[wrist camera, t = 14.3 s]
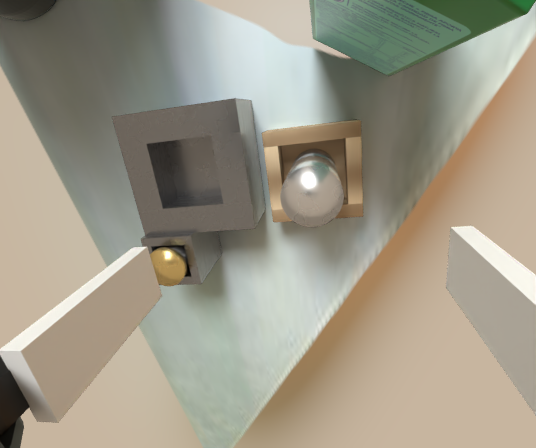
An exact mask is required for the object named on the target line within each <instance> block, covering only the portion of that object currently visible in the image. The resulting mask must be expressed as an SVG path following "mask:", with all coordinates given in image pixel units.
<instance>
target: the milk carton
mask: <svg viewBox="0 0 536 448" xmlns="http://www.w3.org/2000/svg"><path fill="white" fill-rule="evenodd" d="M309 1H310V10H311V11H310V12H311V22H312V33H313V39H315V40H317V41H319V42H321V43H323V44H325V45H327V46H329V47H331V48H333V49H335V50H337V51H339V52H341V53H343V54H345V55H347V56H349V57H351V58H353V59H355V60H357V61H359V62H361V63H363V64H365V65H367V66H369V67H371V68H373V69H376V70H378V71H380V72H382V73H384V74H386V75H388V76H391V75H393V74H395V73H397V72H400V71H402V70H404V69H406V68H408V67H411V66H413V65H415V64H417V63H419V62H422V61H424V60H426V59H428V58H430V57H433V56H435V55H437V54H439V53H441V52H444V51H446V50H448V49H450V48H452V47H455V46H457V45H459V44H461V43H463V42H466V41H468V40H470V39H472V38H474V37H477V36H479V35H481V34H483V33H485V32H488V31H490V30H492V29H494V28H496V27H499V26H501V25H503V24H505V23H507V22H510V21H512V20H514V19H516V18H518V17H521V16H523V15H525V14H527V13H528V12H529V10H530V9H531V7H532V6H533V4H534V3H535V1H536V0H309Z"/></svg>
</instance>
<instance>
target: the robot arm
mask: <svg viewBox="0 0 536 448" xmlns="http://www.w3.org/2000/svg"><path fill="white" fill-rule="evenodd" d="M55 1H56V0H0V16H1V17H5V18H8V19H12V20H30V19H33V18H36V17H38V16H40V15H42V14H44V13H45V12H46V11H47V10H49V9H50V8H51V6H52V5H53V4H54V3H55ZM449 242H450V243H449V255H448V268H447V281H446V288H447V290H448V291H449V293H450V294H451V296H452V297H453V298H454V300H455V301H456V303H457V304H458V306H459V307H460V308H461V310H462V311H463V313H464V314H465V315H466V317H467V318H468V320H469V321H470V322H471V324H472V325H473V327H474V328H475V330H476V331H477V333H478V334H479V335H480V337H481V338H482V340H483V341H484V343H485V344H486V345H487V347H488V348H489V349H490V351H491V352H492V354H493V355H494V357H495V358H496V359H497V361H498V362H499V364H500V365H501V367H502V368H503V370H504V371H505V372H506V374H507V375H508V377H509V378H510V379H511V381H512V382H513V384H514V385H515V387H516V388H517V389H518V391H519V392H520V394H521V395H522V397H523V398H524V399H525V401H526V402H527V404H528V405H529V407H530V408H531V409H532V411H533V412H534V414H535V415H536V275H535V274H534V273H532V272H531V271H530V270H528V269H527V268H526V267H525V266H523V265H522V264H521V263H519V262H518V261H517V260H515V259H514V258H513V257H512V256H510V255H509V254H508V253H507V252H505V251H504V250H502V249H501V248H500V247H499V246H497V245H496V244H495V243H494V242H492V241H491V240H490V239H489V238H487V237H486V236H485V235H483V234H482V233H481V232H480V231H478V230H477V229H476V228H474V227H473V226H462V227H451V229H450V241H449ZM161 297H162V294H161V291H160V287H159V284H158V281H157V277H156V274H155V271H154V267H153V264H152V261H151V257H150V254H149V251H148V247H133V248H131V249H130V250H129V251H128V252H126V253H125V254H124V255H122V256H121V257H120V258H118V259H117V260H116V261H115V262H113V263H112V264H111V265H109V266H108V267H107V268H106V269H104V270H103V271H101V272H100V273H99V274H98V275H96V276H95V277H94V278H92V279H91V280H90V281H88V282H87V283H86V284H84V285H83V286H82V287H81V288H79V289H78V290H77V291H75V292H74V293H73V294H71V295H70V296H69V297H68V298H66V299H65V300H64V301H62V302H61V303H60V304H58V305H57V306H56V307H54V308H53V309H52V310H51V311H49V312H48V313H47V314H45V315H44V316H43V317H41V318H40V319H39V320H37V321H36V322H35V323H33V324H32V325H31V326H30V327H28V328H27V329H26V330H24V331H23V332H22V333H20V334H19V335H18V336H17V337H15V338H14V339H13V340H11V341H10V342H9V343H7V344H6V345H5V346H4V347H2V348H1V349H0V448H20V445H21V440H22V434H23V429H24V425H23V421H22V419H21V417H20V416H21V415H22V414H23V413H24V412H25V411H26V410H27V409H28V408H30V410H31V411H32V413H33V415H34V417H35V419H36V420H37V422H38V421H39V422H53V423H54V422H55V423H58V422H59V421H60V420H61V419H62V418H63V416H64V415H65V414H66V413H67V411H68V410H69V409H70V408H71V407H72V405H73V404H74V403H75V402H76V400H77V399H78V398H79V397H80V396H81V394H82V393H83V392H84V391H85V389H86V388H87V387H88V386H89V385H90V383H91V382H92V381H93V380H94V378H95V377H96V376H97V374H99V372H100V371H101V370H102V369H103V367H104V366H105V365H106V364H107V363H108V361H109V360H110V359H111V358H112V356H113V355H114V354H115V353H116V352H117V350H118V349H119V348H120V347H121V345H122V344H123V343H124V342H125V341H126V339H127V338H128V337H129V336H130V335H131V333H132V332H133V331H134V329H135V328H136V327H137V326H138V325H139V324H140V322H141V321H142V320H143V319H144V317H145V316H146V315H147V314H148V313H149V311H150V310H151V309H152V308H153V307H154V305H155V304H156V303H157V302H158V300H159V299H160V298H161Z"/></svg>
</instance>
